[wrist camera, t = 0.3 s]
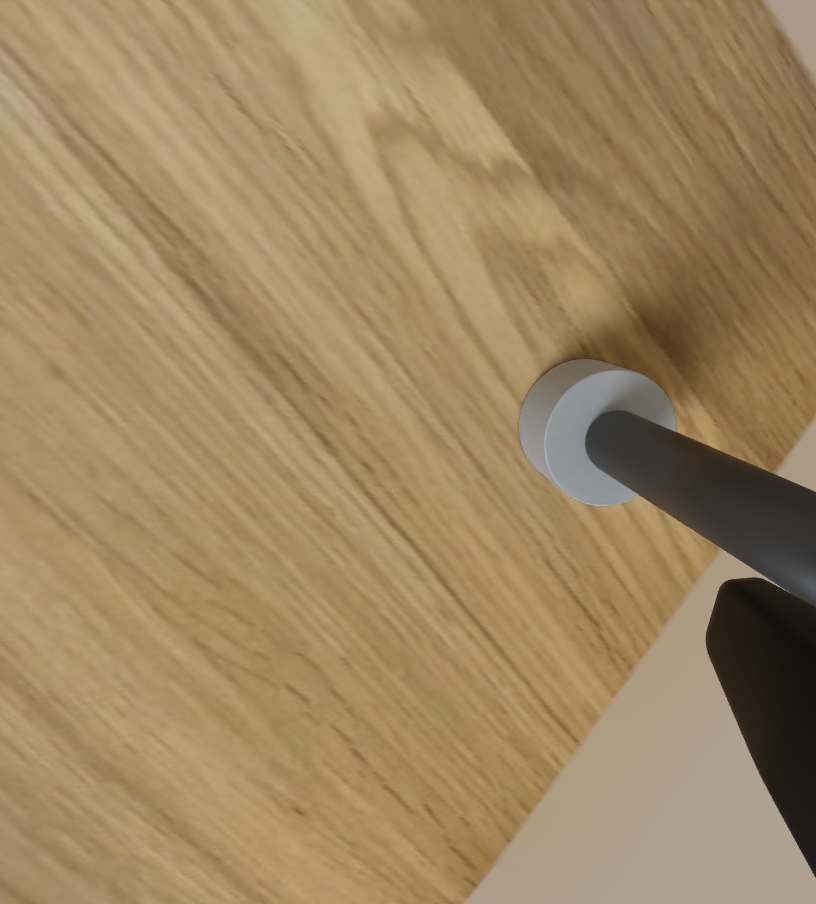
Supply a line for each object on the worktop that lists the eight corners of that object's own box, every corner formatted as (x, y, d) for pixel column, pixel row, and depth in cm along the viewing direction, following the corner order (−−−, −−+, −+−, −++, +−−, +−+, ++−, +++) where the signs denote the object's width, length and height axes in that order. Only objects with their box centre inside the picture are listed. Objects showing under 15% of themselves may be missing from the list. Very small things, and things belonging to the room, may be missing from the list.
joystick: (584, 507, 25) (957, 804, 11) (492, 435, 24) (783, 671, 10) (664, 408, 24) (1148, 595, 11) (574, 332, 23) (988, 432, 10)
